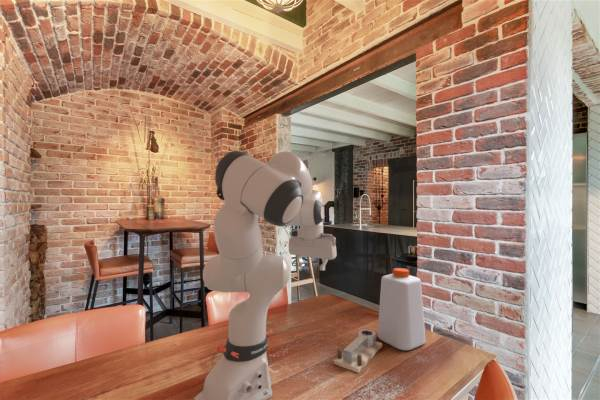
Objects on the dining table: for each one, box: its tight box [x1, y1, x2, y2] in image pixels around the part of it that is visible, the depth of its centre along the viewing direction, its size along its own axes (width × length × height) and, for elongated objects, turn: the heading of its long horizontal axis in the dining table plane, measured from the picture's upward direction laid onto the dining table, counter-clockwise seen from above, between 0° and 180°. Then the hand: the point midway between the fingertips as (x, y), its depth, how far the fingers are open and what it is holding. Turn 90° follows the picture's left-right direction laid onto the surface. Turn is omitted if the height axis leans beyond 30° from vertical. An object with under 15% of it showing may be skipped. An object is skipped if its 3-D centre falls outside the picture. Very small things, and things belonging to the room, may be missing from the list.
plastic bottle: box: [377, 267, 426, 351], centre depth 114 cm, size 15×15×28 cm
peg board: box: [333, 334, 383, 374], centre depth 103 cm, size 21×9×4 cm, turn 144°
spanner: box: [342, 328, 377, 365], centre depth 104 cm, size 20×6×4 cm, turn 144°
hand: (311, 268), depth 111 cm, fingers open, 8 cm apart
